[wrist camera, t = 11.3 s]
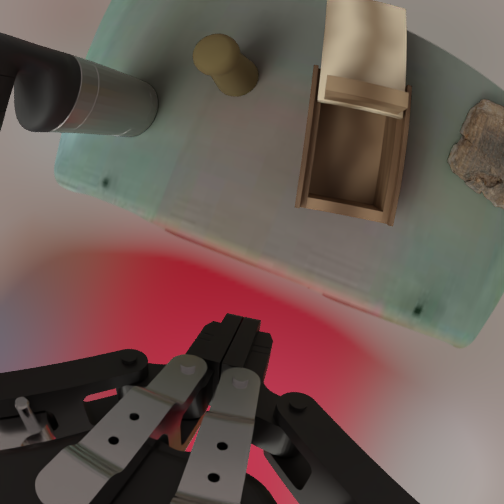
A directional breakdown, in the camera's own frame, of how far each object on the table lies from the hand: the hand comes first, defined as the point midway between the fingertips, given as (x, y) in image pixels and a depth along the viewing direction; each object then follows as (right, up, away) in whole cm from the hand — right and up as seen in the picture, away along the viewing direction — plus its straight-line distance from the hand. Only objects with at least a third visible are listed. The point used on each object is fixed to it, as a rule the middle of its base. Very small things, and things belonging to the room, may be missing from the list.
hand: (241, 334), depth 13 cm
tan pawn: (-2, +28, +23) cm, 36 cm away
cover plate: (+13, +26, +13) cm, 32 cm away
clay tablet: (+38, +16, +19) cm, 46 cm away
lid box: (+13, +17, +23) cm, 32 cm away
